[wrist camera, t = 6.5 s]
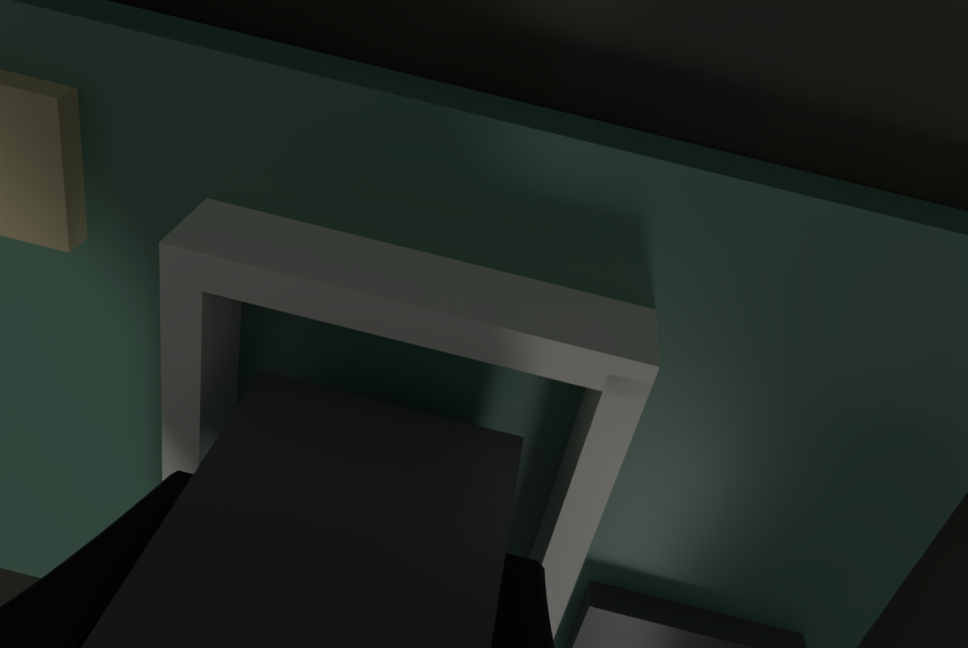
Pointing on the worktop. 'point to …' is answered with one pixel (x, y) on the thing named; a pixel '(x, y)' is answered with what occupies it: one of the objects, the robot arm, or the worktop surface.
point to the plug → (327, 531)
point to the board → (476, 320)
